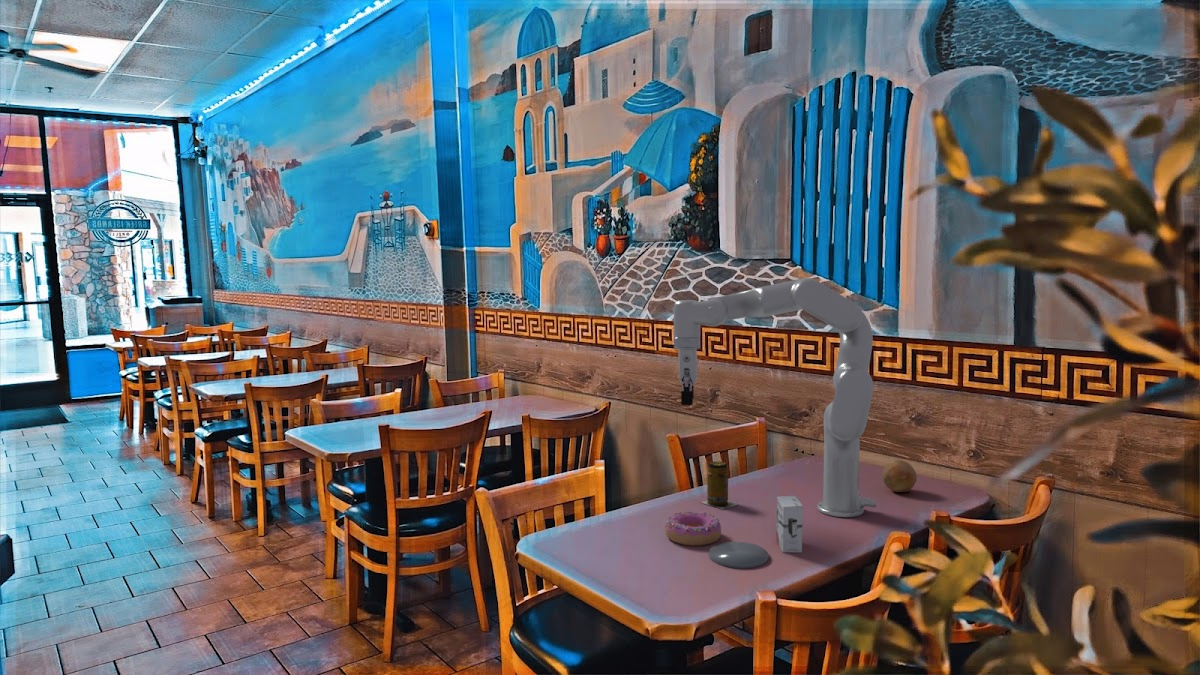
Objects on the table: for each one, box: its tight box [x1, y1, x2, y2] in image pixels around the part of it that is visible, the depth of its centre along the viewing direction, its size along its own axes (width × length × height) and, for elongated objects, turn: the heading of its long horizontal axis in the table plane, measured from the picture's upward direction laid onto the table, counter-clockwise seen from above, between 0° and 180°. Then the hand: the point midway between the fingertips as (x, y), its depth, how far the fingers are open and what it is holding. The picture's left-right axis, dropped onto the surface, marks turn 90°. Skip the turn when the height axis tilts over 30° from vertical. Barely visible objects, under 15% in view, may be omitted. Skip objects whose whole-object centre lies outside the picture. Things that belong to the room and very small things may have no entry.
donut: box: [664, 511, 722, 547], centre depth 195 cm, size 14×14×5 cm
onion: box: [881, 459, 918, 493], centre depth 229 cm, size 10×10×10 cm
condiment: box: [700, 461, 739, 510], centre depth 220 cm, size 7×8×12 cm
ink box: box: [775, 495, 804, 553], centre depth 187 cm, size 9×5×12 cm, turn 178°
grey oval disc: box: [708, 541, 769, 569], centre depth 182 cm, size 14×14×1 cm
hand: (687, 401), depth 218 cm, fingers open, 9 cm apart
